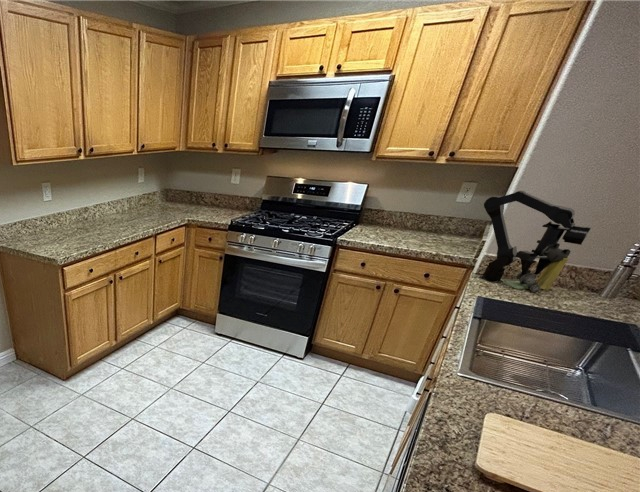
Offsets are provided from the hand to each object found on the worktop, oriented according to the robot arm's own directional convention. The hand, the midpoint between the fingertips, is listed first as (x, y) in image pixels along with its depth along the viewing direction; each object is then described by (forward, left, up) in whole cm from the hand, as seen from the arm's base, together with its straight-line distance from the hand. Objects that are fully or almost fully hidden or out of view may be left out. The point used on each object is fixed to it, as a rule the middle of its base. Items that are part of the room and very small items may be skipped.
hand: (529, 274), depth 187 cm
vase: (+2, +9, -6) cm, 11 cm away
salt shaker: (-3, 0, -1) cm, 3 cm away
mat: (-2, 0, -6) cm, 6 cm away
